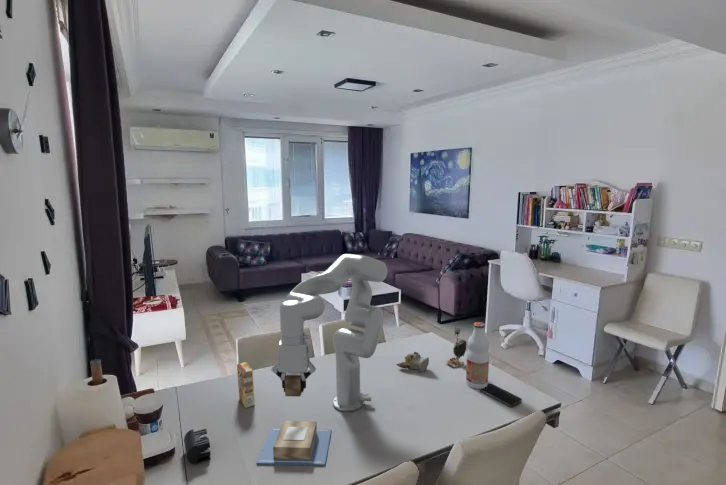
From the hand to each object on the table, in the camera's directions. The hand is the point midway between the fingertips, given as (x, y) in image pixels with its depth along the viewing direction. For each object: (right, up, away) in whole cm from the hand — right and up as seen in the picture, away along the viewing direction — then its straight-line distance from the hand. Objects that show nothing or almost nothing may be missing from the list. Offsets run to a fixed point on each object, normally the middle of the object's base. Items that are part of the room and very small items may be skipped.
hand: (294, 389), depth 133 cm
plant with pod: (+69, -11, +64) cm, 95 cm away
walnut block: (0, -1, 0) cm, 1 cm away
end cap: (-32, -22, -1) cm, 39 cm away
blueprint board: (0, -21, +3) cm, 21 cm away
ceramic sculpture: (+48, -12, +59) cm, 77 cm away
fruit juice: (+74, -14, +44) cm, 87 cm away
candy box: (-25, -17, +31) cm, 43 cm away
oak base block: (0, -21, +3) cm, 21 cm away
